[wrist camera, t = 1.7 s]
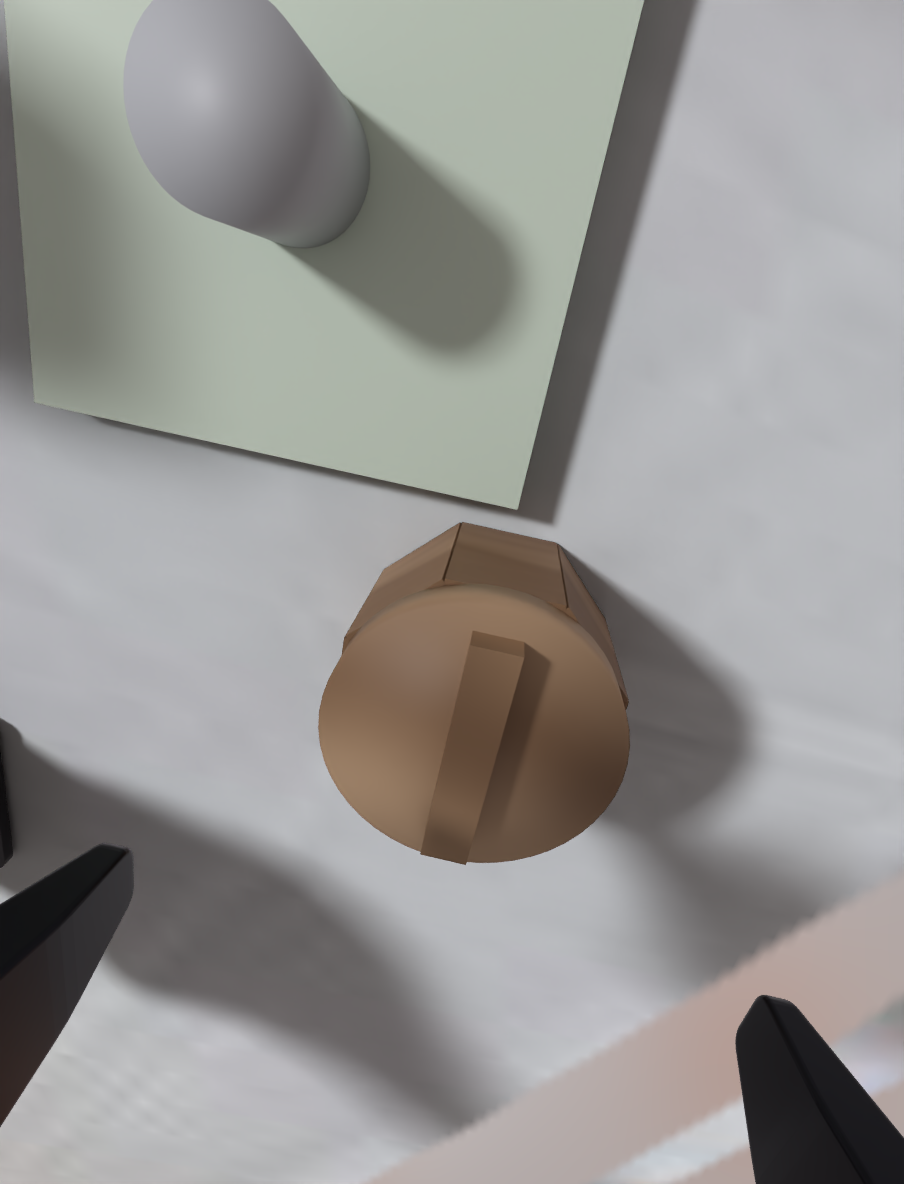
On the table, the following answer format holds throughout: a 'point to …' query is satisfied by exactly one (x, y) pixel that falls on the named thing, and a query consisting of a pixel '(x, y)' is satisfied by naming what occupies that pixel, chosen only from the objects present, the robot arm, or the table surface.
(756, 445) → the table surface
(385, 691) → the cap
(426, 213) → the pale green flat slab
